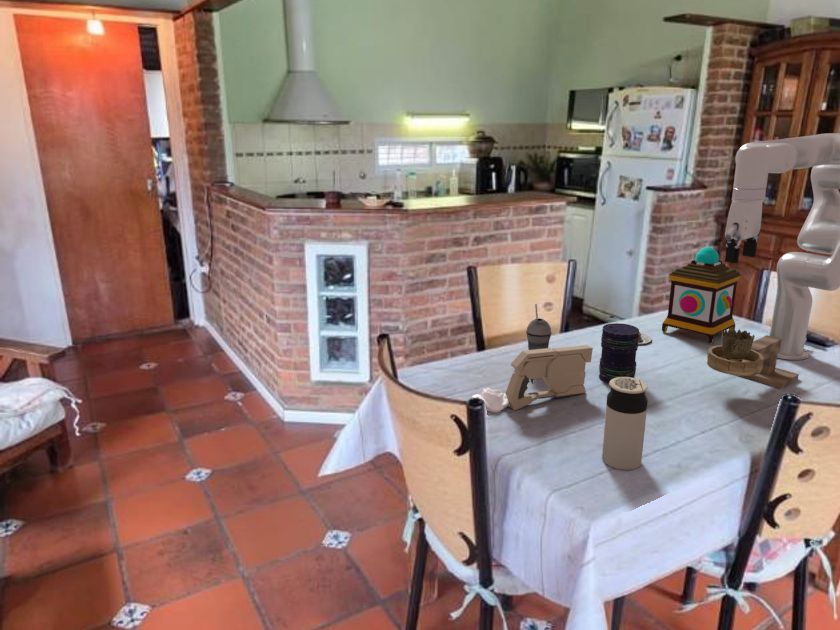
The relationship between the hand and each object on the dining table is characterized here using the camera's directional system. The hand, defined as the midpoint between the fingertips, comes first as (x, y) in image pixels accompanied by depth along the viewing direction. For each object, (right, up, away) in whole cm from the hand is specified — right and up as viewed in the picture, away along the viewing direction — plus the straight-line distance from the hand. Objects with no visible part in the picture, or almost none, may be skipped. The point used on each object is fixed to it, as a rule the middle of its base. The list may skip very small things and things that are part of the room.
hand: (740, 259), depth 158 cm
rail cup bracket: (+3, -34, +3) cm, 34 cm away
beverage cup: (-51, -31, +17) cm, 62 cm away
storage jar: (-30, -33, +9) cm, 46 cm away
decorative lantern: (+10, -21, +44) cm, 50 cm away
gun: (-52, -37, -3) cm, 64 cm away
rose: (-68, -38, -4) cm, 78 cm away
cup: (-4, -27, -5) cm, 28 cm away
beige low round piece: (-15, -24, +40) cm, 49 cm away
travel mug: (-43, -46, -32) cm, 71 cm away
